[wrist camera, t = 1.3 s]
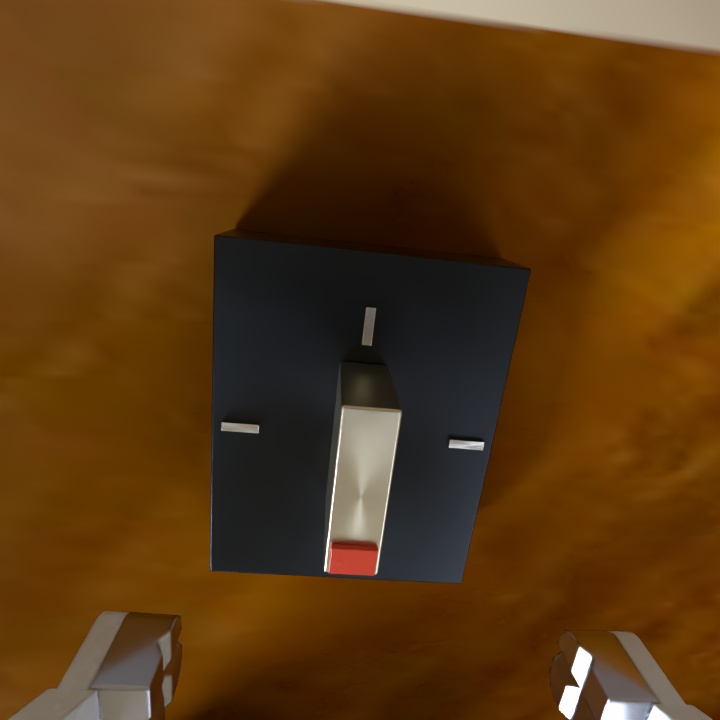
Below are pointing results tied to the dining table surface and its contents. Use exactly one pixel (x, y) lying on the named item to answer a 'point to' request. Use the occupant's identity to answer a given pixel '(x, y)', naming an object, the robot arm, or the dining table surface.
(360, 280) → the rod panel
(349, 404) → the turn handle
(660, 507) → the dining table surface
